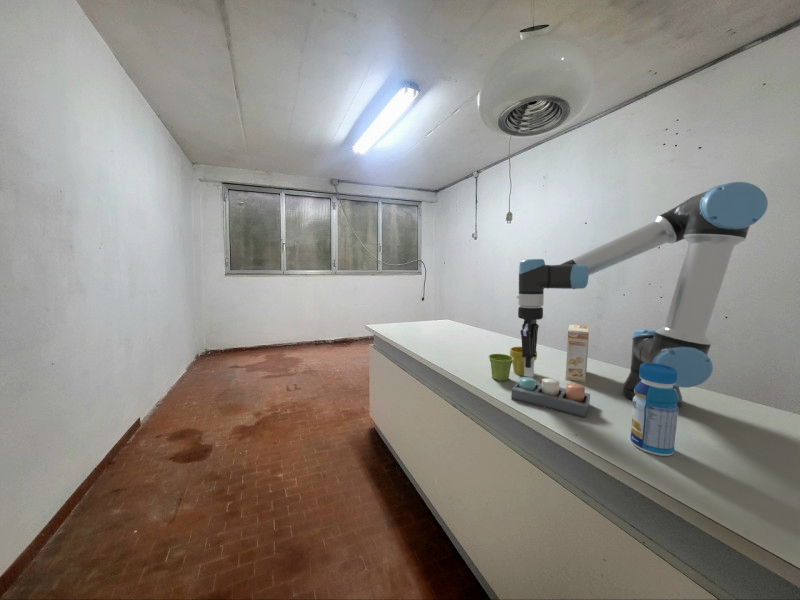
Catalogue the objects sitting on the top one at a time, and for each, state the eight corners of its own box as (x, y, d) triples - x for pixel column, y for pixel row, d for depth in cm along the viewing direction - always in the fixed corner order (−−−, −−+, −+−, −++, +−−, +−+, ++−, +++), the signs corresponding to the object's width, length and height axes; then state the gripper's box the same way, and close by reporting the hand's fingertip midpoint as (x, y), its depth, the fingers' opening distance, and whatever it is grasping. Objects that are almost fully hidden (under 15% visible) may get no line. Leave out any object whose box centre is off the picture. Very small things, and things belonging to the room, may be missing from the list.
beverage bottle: (662, 461, 67) (670, 375, 65) (621, 441, 75) (627, 364, 73) (682, 452, 70) (690, 369, 68) (641, 434, 78) (647, 359, 76)
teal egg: (536, 391, 102) (537, 379, 101) (533, 396, 98) (533, 383, 97) (521, 388, 105) (522, 376, 104) (517, 393, 101) (517, 380, 100)
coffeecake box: (586, 382, 113) (589, 332, 111) (564, 379, 117) (567, 330, 115) (586, 371, 126) (589, 325, 124) (566, 368, 129) (569, 323, 127)
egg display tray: (589, 404, 95) (590, 393, 95) (585, 418, 86) (585, 406, 86) (521, 388, 108) (521, 379, 108) (511, 399, 99) (511, 388, 99)
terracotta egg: (585, 399, 93) (585, 385, 93) (582, 405, 89) (583, 390, 89) (566, 395, 96) (567, 382, 96) (564, 400, 92) (564, 386, 92)
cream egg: (560, 393, 97) (560, 380, 97) (556, 399, 93) (557, 385, 93) (543, 389, 100) (543, 377, 100) (539, 394, 97) (540, 381, 96)
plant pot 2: (540, 377, 119) (541, 353, 118) (514, 377, 119) (515, 353, 118) (529, 368, 130) (530, 346, 128) (505, 368, 130) (506, 346, 129)
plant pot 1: (509, 374, 122) (510, 353, 121) (516, 383, 113) (516, 361, 112) (486, 373, 123) (486, 353, 122) (490, 382, 114) (491, 360, 113)
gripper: (524, 303, 106) (522, 368, 108) (512, 307, 96) (511, 379, 98) (547, 305, 101) (545, 372, 103) (537, 309, 91) (535, 384, 93)
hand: (528, 375), depth 101 cm, fingers closed
